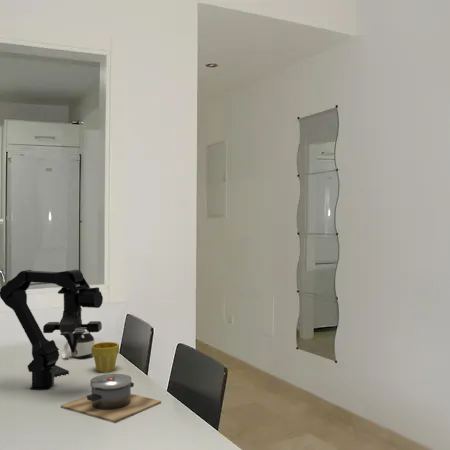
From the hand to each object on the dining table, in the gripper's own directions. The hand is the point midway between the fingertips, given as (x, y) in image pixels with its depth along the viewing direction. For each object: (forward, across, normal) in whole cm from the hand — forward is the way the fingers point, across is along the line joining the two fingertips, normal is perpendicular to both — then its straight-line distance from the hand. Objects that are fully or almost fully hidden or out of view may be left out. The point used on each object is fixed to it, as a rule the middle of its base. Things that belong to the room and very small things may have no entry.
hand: (73, 352), depth 188 cm
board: (+13, +16, -16) cm, 26 cm away
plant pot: (+13, +6, +24) cm, 28 cm away
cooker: (+13, +16, -16) cm, 26 cm away
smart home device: (+14, -16, +24) cm, 32 cm away
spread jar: (+13, -10, +44) cm, 47 cm away
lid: (+6, +16, -16) cm, 23 cm away
